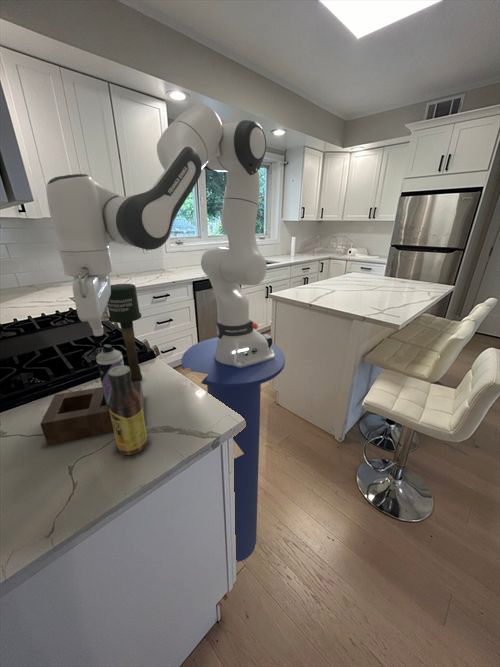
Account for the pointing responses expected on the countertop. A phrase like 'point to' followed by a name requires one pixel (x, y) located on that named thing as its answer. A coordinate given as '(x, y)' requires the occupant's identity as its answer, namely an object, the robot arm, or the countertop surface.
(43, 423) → the holder
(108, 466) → the countertop surface
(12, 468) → the countertop surface
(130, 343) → the potato masher grenade
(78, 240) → the robot arm
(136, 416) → the sauce bottle
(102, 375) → the spray can
